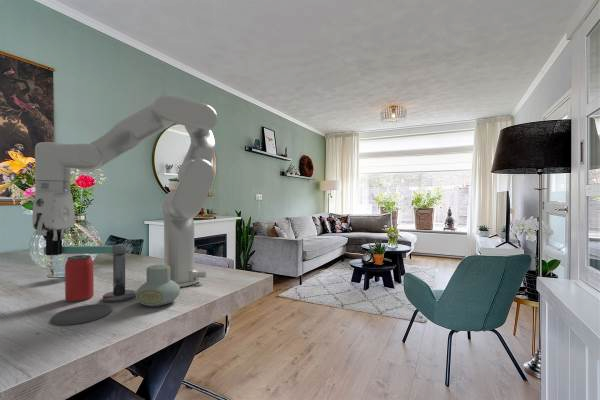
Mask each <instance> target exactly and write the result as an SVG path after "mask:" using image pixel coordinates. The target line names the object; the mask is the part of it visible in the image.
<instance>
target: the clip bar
mask: <svg viewBox="0 0 600 400" xmlns="http://www.w3.org/2000/svg"><path fill="white" fill-rule="evenodd" d="M126 249H127V248H126V244H122V243H120V244H113V245H111V244H110V245H103V244H102V245H62V254H61V255H63V254H89V255H90V254H91V255H95V254H99V255H100V254H104V255H105V254H107V255H108V254H112V255H113V254H115V255H117V254H125V255H126ZM43 255H46V246H43Z"/></svg>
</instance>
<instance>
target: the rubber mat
mask: <svg viewBox="0 0 600 400" xmlns="http://www.w3.org/2000/svg"><path fill="white" fill-rule="evenodd" d="M112 311H113V310H112V306H110V305H108V304H98V303H97V304H87V305H80V306H75V307H72V308H68V309H67V308H66V309H65V310H62V311H60V312H57V313H55V314H54V315H52V317H51V318H50V322H51V324H53V325H56V326H76V325H77V326H78V325H82V324H87V323H90V322H94V321H97V320H101V319H103V318H105V317H107V316H109V315H110V314H111V313H112Z"/></svg>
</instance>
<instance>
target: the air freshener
mask: <svg viewBox="0 0 600 400" xmlns="http://www.w3.org/2000/svg"><path fill="white" fill-rule="evenodd" d="M180 292H181V287H179V285H178V284H177V283H176V282H174V281H172V280H170V266H169V265H164V264H155V265H150V266H148V267H147V268H146V282H145V283H143V284H142V285H140V287H139V288H137V290H136V291H135V297H136V300H137V301H138V302H139V303H140V304H141V305H143V306H147V307H150V308H158V307H162V306H164V305H168V304H171V303H172V302H174V301H175V300H176V299H177V298H178V297H179V295H180Z"/></svg>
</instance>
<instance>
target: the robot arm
mask: <svg viewBox="0 0 600 400" xmlns="http://www.w3.org/2000/svg"><path fill="white" fill-rule="evenodd" d="M218 121H219V120H218V114H217V111H216V110H215V109H214V108H213V107H212V106H211V105H209V104H207V103H203V102H198V101H195V100H191V99H187V98H183V97H179V96H175V95H170V94H163V95H160V96H158V97H156V98H155V99H154V101H153V102H152V103H150V104H149V105H147V106H144V107H143V108H142V109H139V110H137V111H136V112H135V113H134V112H133V114H131V115H129V116H126V117H125V118H123V119H122V120H120V121H118V122H117V123H116V124H115V125H114V126H113V127H112V128H111V129H110V130H109V131H107V132H106V133H105V134H104V135H101V137H99V138H97V139H95V140H93V141H92V142H90V143H61V142H54V141H43V142H38V143H36V145H35V147H34V159H35V160H34V169H35V171H34V174H35V178H34V179H35V180H34V181H35V182H34V183H35V184H34V185H35V191H34V192H35V193H34V197H33V204H32V219H31V221H32V227H33V229H34V230H36V235H37V236H42V237H43V241H44V242H45V247H46V254H45V255H46V256H59V255H63V254H62V246H63V240H64V238H65V237H64V236H65V234H66V233H67V232H69V231H70V228H73V227H74V226H75V225H76V214H75V205H74V199H73V195H72V193H71V191H72V190H71V169H74V170H75V169H76V170H78V171H79V172H82V173H93V172H95V171H98V170H99V169H100V168H102V167H104V166H106V164H108V163H110V162H111V161H113V160H115V159H117V158H118V157H120V156H122V155H123V154H125V153H127V152H129V151H131V150H133V149H135V148H136V147H138V146H140V145H141V144H143V143H145V142H146V141H148V140H150V139H152V138H153V137H154V136H157V135H158V134H159V133H162V132H163V131H164V130H166V129H167V128H169V127H171V126H172V125H174V124H178V125H181V126H184V128H185V130H186V132H187V133H188V135H189V138H190V144H189V147H188V150H187V152H186V155H185V156H184V159H183V161H182V164H181V165H180V167H179V169H178V172H177V178H178V181H179V183H178V186H177V187H176V189H174V190H171V191H169V192H168V193H167V194H166V195H165V196H164V198H163V200H162V216H163V218H162V219H163V250H164V251H163V265H169V266H170V280H172V281H174V282H176V283H177V284H178V285H179V287H180V288H184V287H188V286H194V285H195V284H198V282H199V281H200V279H202V278H203V279H204V278H205V279H206V278H207V277H208V272H207V271H205V270H201V271H199V270H198V269H197V268H198V267H197V266H196V267H195V222H194V217H196V216H197V215H199V213H200V212H202V209H203V207H204V205H205V202H206V199H207V198H208V196H209V193H210V190H211V188H212V186H213V183H214V181H215V169H214V166H213V165H212V161H213V158H214V155H215V152H216V140H215V136H214V134H213V131H212V130H213V129H214V128H215V127H216V126H217V123H218Z"/></svg>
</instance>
